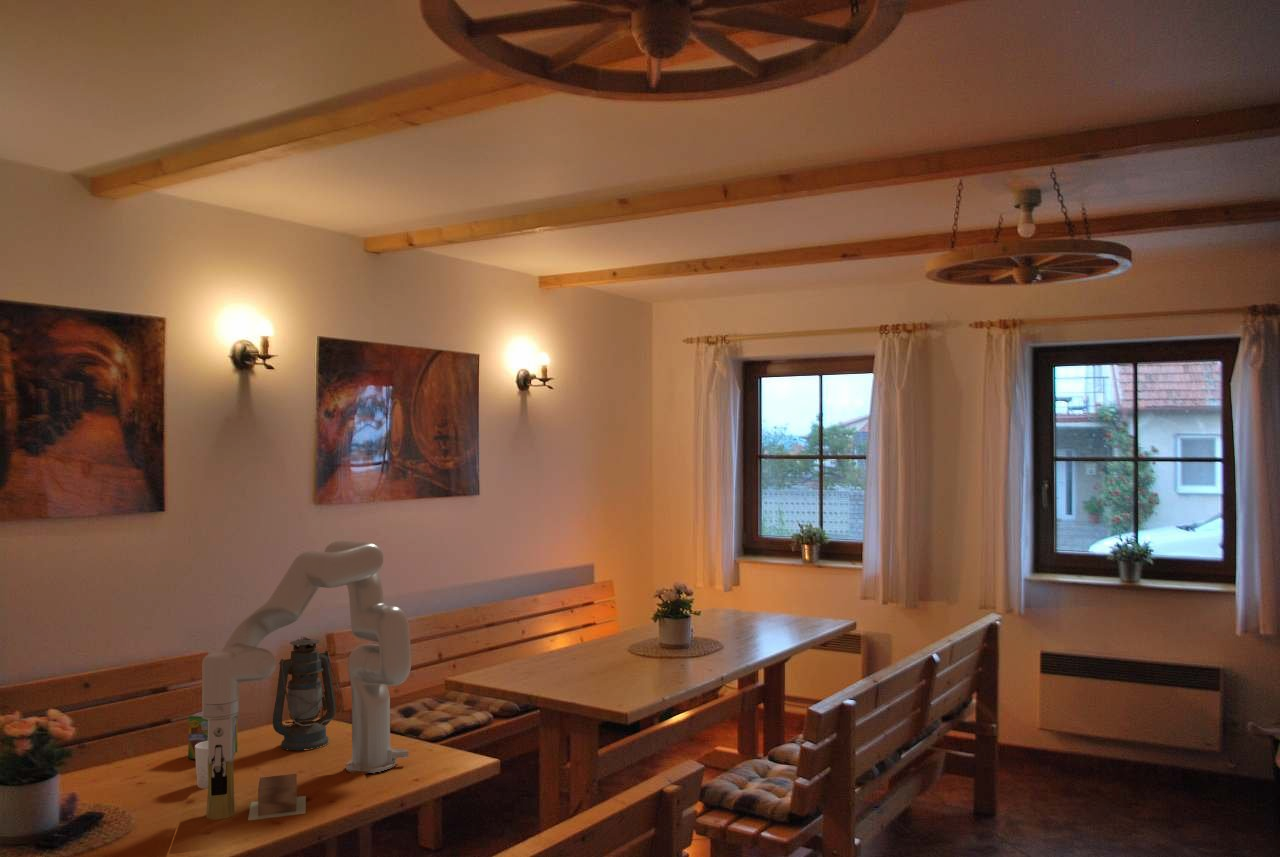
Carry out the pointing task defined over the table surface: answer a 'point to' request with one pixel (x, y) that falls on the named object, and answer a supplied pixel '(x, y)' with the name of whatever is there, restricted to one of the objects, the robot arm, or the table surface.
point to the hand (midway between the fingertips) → (220, 788)
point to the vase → (221, 796)
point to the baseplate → (299, 810)
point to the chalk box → (202, 732)
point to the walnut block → (277, 794)
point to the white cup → (202, 764)
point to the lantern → (305, 696)
